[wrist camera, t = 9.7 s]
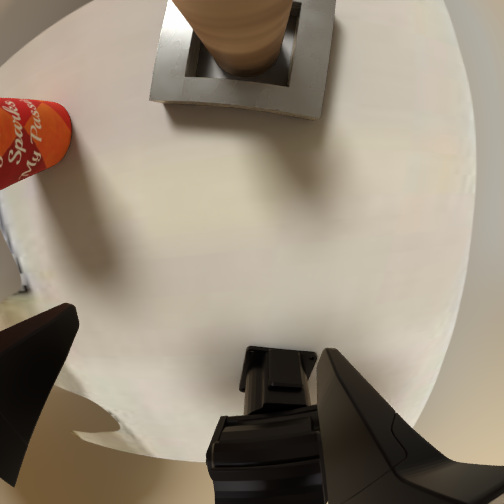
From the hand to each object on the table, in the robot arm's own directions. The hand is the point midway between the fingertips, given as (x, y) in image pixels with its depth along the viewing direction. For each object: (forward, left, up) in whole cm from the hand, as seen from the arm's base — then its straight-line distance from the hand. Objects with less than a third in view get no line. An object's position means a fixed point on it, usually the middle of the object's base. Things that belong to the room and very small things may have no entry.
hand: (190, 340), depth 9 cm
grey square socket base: (+12, +1, -12) cm, 17 cm away
